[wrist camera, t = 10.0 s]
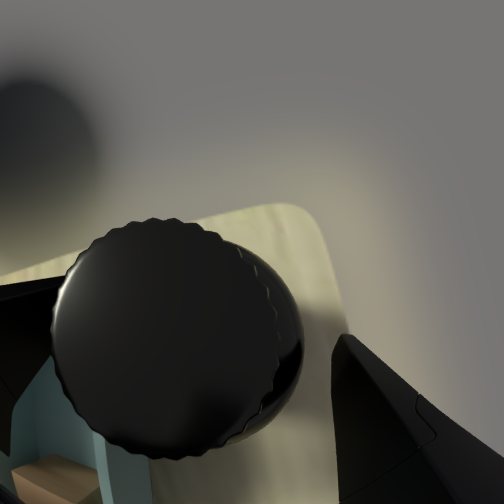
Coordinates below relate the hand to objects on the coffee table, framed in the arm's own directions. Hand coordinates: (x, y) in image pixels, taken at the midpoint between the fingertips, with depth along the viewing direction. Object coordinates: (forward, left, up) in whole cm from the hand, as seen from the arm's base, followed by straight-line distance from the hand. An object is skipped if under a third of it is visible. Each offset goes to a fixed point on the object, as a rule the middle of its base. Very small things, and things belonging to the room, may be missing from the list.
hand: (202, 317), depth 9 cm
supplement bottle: (-1, 0, -8) cm, 8 cm away
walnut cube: (-13, +10, -7) cm, 18 cm away
